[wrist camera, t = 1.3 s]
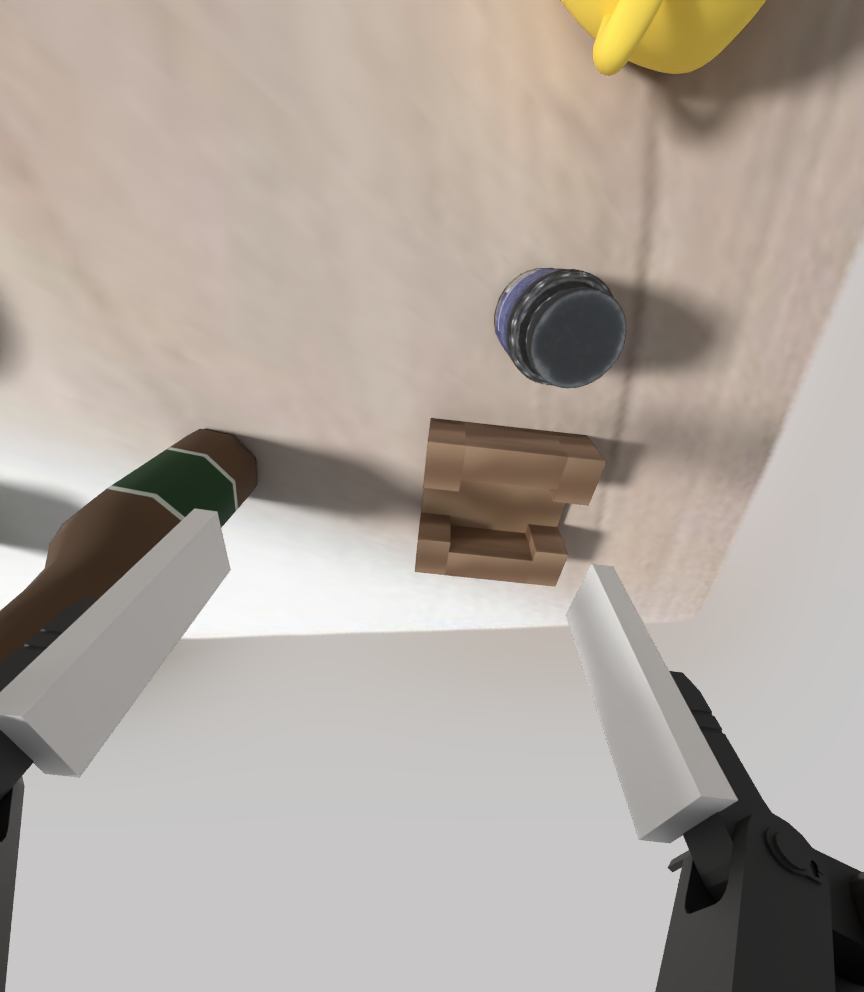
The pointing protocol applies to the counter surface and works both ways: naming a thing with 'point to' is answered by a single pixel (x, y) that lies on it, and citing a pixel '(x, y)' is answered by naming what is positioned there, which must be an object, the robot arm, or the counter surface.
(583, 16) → the teapot
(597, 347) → the pill bottle
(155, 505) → the beer bottle
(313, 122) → the counter surface
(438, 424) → the socket
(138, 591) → the robot arm
